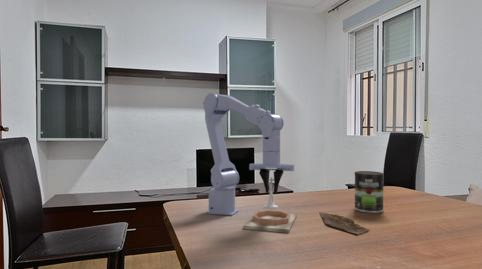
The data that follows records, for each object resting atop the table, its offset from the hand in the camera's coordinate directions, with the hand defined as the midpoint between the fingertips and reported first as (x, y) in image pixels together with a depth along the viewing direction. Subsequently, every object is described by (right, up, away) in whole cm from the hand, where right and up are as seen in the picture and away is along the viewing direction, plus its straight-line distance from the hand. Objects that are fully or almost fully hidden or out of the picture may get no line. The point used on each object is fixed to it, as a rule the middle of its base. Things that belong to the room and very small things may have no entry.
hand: (271, 192), depth 104 cm
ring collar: (0, -10, 0) cm, 10 cm away
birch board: (0, -10, 0) cm, 10 cm away
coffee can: (+39, -10, +17) cm, 43 cm away
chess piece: (0, -5, -1) cm, 5 cm away
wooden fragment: (+22, -10, 0) cm, 24 cm away
